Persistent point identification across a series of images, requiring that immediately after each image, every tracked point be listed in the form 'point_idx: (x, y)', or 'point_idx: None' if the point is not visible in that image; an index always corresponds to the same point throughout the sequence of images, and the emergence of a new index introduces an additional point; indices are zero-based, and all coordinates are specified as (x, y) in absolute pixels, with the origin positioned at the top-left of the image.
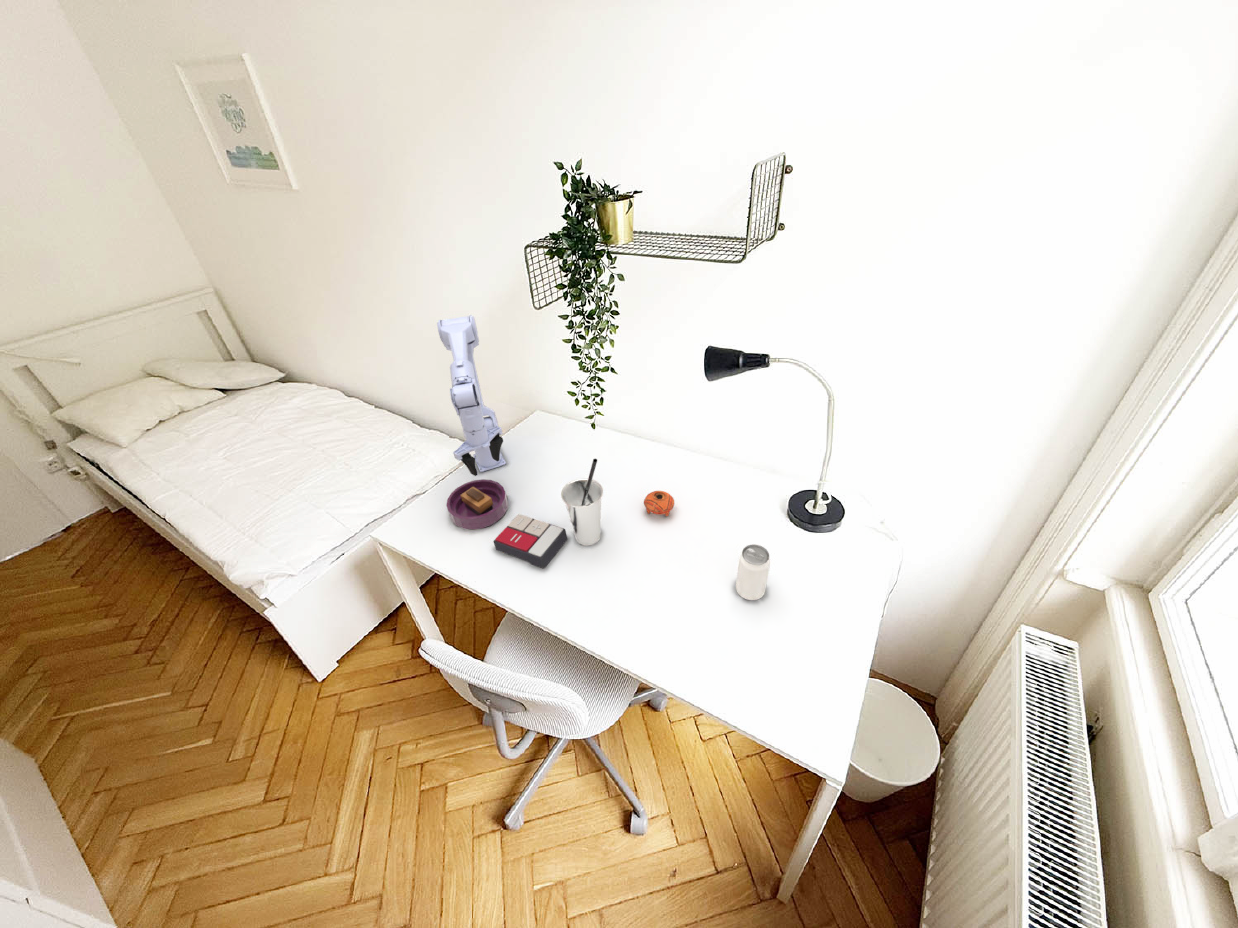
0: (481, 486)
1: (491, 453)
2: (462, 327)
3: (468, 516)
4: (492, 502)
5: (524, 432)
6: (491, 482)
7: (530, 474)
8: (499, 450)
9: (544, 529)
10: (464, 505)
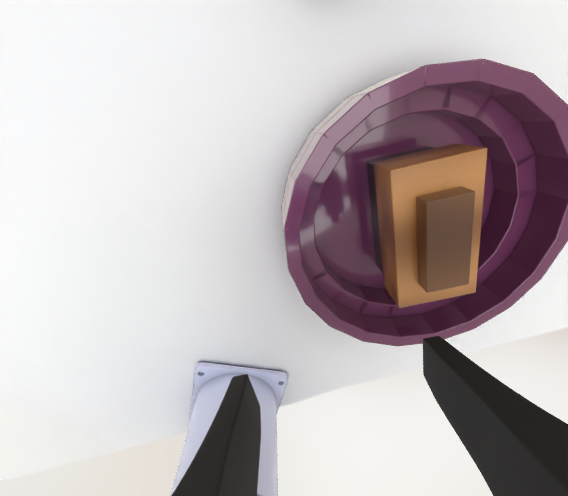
0: (340, 304)
1: (257, 454)
2: None
3: None
4: (381, 163)
5: (85, 445)
6: (312, 288)
7: (134, 268)
8: (195, 470)
9: None
10: None
